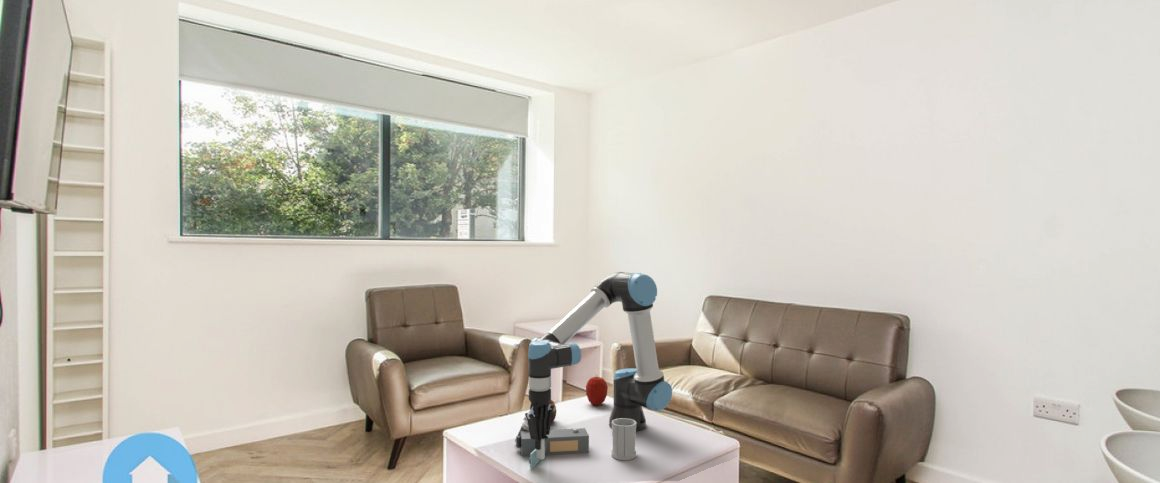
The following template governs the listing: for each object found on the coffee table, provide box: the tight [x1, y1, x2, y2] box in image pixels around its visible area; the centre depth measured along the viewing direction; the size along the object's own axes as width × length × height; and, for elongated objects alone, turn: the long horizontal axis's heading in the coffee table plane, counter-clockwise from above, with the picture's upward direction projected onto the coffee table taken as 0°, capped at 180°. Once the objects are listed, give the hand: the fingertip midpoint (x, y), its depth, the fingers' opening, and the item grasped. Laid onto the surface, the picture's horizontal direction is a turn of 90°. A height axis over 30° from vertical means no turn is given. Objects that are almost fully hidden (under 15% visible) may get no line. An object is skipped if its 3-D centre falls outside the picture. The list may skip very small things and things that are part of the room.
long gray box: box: [515, 427, 590, 457], centre depth 201 cm, size 26×8×7 cm, turn 100°
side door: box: [528, 441, 547, 469], centre depth 190 cm, size 13×1×5 cm, turn 162°
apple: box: [585, 376, 609, 407], centre depth 257 cm, size 10×10×14 cm
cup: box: [610, 418, 637, 461], centre depth 197 cm, size 10×9×12 cm
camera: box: [514, 416, 529, 443], centre depth 211 cm, size 9×16×10 cm, turn 170°
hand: (540, 457), depth 187 cm, fingers closed
